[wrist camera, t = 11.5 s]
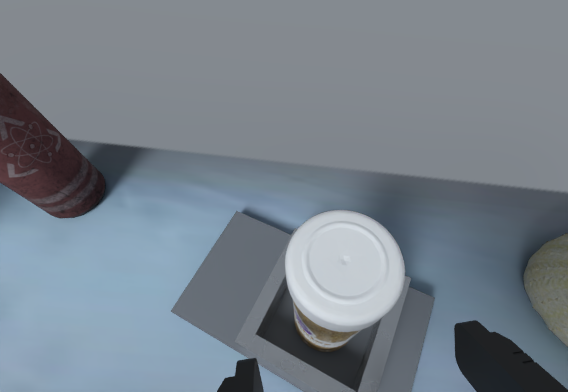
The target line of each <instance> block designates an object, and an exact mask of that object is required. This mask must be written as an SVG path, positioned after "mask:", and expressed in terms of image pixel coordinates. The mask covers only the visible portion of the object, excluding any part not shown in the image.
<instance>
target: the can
mask: <svg viewBox="0 0 568 392" xmlns="http://www.w3.org/2000/svg"><path fill="white" fill-rule="evenodd" d="M0 183H2V184H3V185H5V186H7V187H8V188H10V189H11V190H13V191H14V192H16V193H18V194H19V195H21V196H22V197H24V198H25V199H27V200H28V201H30V202H32V203H33V204H35V205H36V206H38V207H39V208H41V209H43V210H44V211H46V212H47V213H49V214H50V215H52V216H54V217H58V218H74V217H77V216H81V215H83V214H85V213H87V212H89V211H90V210H92V209H93V208H94V207H95V206H96V205H97V204H98V203H99V202H100V200H101V199H102V197H103V195H104V192H105V179H104V177H103V175H102V174H101V173H100V172H99V171H98V170H97V169H96V168H95V167H94V166H93V165H92V164H91V163H90V162H89V161H88V160H87V159H86V158H85V157H84V156H83V155H82V154H81V153H80V152H79V151H78V150H77V149H76V148H75V147H74V146H73V145H72V144H71V143H70V142H69V141H68V140H67V139H66V138H65V137H64V136H63V135H62V134H61V133H60V132H59V131H58V130H57V129H56V128H55V127H54V126H53V125H52V124H51V123H50V122H49V121H48V120H47V119H46V118H45V117H44V116H43V115H42V114H41V113H40V112H39V111H38V110H37V109H36V108H35V107H34V106H33V105H32V104H31V103H30V102H29V101H28V100H27V99H26V98H25V97H24V96H23V95H22V94H21V93H20V92H19V91H18V90H17V89H16V88H15V87H14V86H13V85H12V84H11V83H10V82H9V81H8V80H7V79H6V78H5V77H4V76H3V75H2V74H0Z"/></svg>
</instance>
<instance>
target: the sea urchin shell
mask: <svg viewBox="0 0 568 392" xmlns="http://www.w3.org/2000/svg"><path fill="white" fill-rule="evenodd" d="M523 277H524V287H525V290H526V293H527V295H528V297H529V298H530V302H531V303H532V304H533V308H534V309H535V310H536V311H537V312H538V313H539V314H540V316H541V317H542V318H543V320H544V321H545V323H546V325H547V326H548V329H549V330H551V331H552V332H553V333H554V334H555V335H556V336H557V337H558V338H559V339H560V340H561V341H562V342H563V343H564V344H565V345H566V346H567V347H568V233H566V234H565V235H562V236H560V237H558V238H556V239H553V240H551V241H547V242H546V243H545V244H544V245H542V246H541V248H540V249H539V250H538V251H537V252H536V253H535V254H534V255H532V257H531V258H529V261H528V265H527V267H526V270H525V272H524V276H523Z"/></svg>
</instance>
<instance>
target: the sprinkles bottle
mask: <svg viewBox="0 0 568 392" xmlns="http://www.w3.org/2000/svg"><path fill="white" fill-rule="evenodd" d="M285 272H286V280H287V285H288V289H289V292H290V295H291V297H292V299H293V306H294V319H295V326H296V330H297V333H298V335H299V336H300V337H301V339H302V341H303V342H304V343H306V344H307V345H308V346H309V347H311V348H313V349H315V350H318V351H321V352H332V351H335V350H338V349H340V348H341V347H343V346H344V345H346V344H347V343H348V341H349V340H350V339H352V338H353V337H354V336H355V335H356V334H358V333H359V332H360V331H361V330H362V329H365V328H367V327H370V326H371V325H373V324H375V323H376V322H377V321H379V320H380V319H381V318H382V317H384V316H385V315H386V314H387V313H388V312H389V311H390V310H391V309H392V308H393V306H394V305H395V304H396V302H397V300H398V299H399V297H400V295H401V292H402V289H403V286H404V281H405V265H404V259H403V256H402V253H401V250H400V248H399V246H398V244H397V242H396V241H395V239H394V238H393V236H392V235H391V234H390V233H389V231H388V230H387V229H386V228H385V227H383V226H382V225H381V224H380V223H378V222H377V221H376V220H374V219H372V218H370V217H368V216H366V215H364V214H361V213H358V212H354V211H349V210H333V211H327V212H323V213H320V214H318V215H315V216H313V217H312V218H310V219H308V220H307V221H306V222H304V223H303V224H302V225H301V226H300V227H299V228H298V229H297V231H296V232H295V233H294V235H293V236H292V238H291V240H290V242H289V245H288V248H287V251H286V256H285Z"/></svg>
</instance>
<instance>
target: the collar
mask: <svg viewBox="0 0 568 392" xmlns="http://www.w3.org/2000/svg"><path fill="white" fill-rule="evenodd" d="M296 231H297V229H296V228H295V229H294V231H293V233H292V235H291V237H290V239H289V241H288V242H287V244H286V246H285V248H284V250H283V252H282V254H281V256H280V257H279V259H278V261H277V263H276V265H275V267H274V269H273V271H272V272H271V274H270V276H269V278H268V280H267V282H266V284H265V286H264V287H263V289H262V291H261V293H260V295H259V297H258V299H257V301H256V302H255V304H254V306H253V308H252V310H251V312H250V314H249V316H248V317H247V319H246V321H245V323H244V325H243V327H242V329H241V331H240V333H239V334H238V336H237V338H236V340H235V342H236V343H238V344H239V345H241V346H243V347H244V348H246V349H248V350H250V351H251V352H253V353H255V354H256V355H258V356H260V357H261V358H263V359H265V360H266V361H268V362H270V363H272V364H273V365H275V366H277V367H278V368H280V369H282V370H283V371H285V372H287V373H288V374H290V375H292V376H293V377H295V378H297V379H299V380H300V381H302V382H304V383H305V384H307V385H309V386H310V387H312V388H314V389H315V390H317V391H319V392H377V391H378V388H379V384H380V381H381V377H382V374H383V371H384V367H385V364H386V361H387V357H388V354H389V351H390V347H391V344H392V341H393V337H394V334H395V331H396V327H397V324H398V321H399V317H400V314H401V311H402V307H403V304H404V301H405V297H406V294H407V291H408V287H409V284H410V281H411V278H410V277H407V276H405V281H404V286H403V289H402V292H401V295H400V297H399V299H398V300H397V302H396V304H395V305H394V306H393V308H392V309H391V310H390V311H389V312H388V313H387V314H386V315H385V316H384V317H382V318H381V319H380V320H379V321H377V322H376V323H375V324H374V325H373V328H372V331H371V334H370V337H369V340H368V343H367V346H366V349H365V352H364V355H363V358H362V361H361V364H360V367H359V370H358V373H357V376H356V379H355V382H354V385H353V388H352V389H351V388H349V387H347V386H345V385H344V384H342V383H340V382H338V381H337V380H335V379H333V378H331V377H330V376H328V375H326V374H324V373H323V372H321V371H319V370H317V369H316V368H314V367H312V366H310V365H309V364H307V363H305V362H303V361H302V360H300V359H298V358H296V357H295V356H293V355H291V354H289V353H288V352H286V351H284V350H282V349H281V348H279V347H277V346H275V345H274V344H272V343H270V342H268V341H266V340H265V339H263V336H264V334H265V332H266V330H267V328H268V326H269V324H270V321H271V319H272V317H273V315H274V313H275V311H276V309H277V307H278V305H279V303H280V301H281V299H282V297H283V295H284V293H285V291H286V289H287V287H288V285H287V280H286V272H285V256H286V251H287V248H288V245H289V242H290V240H291V238H292V236H293V235H294V233H295V232H296Z"/></svg>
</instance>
